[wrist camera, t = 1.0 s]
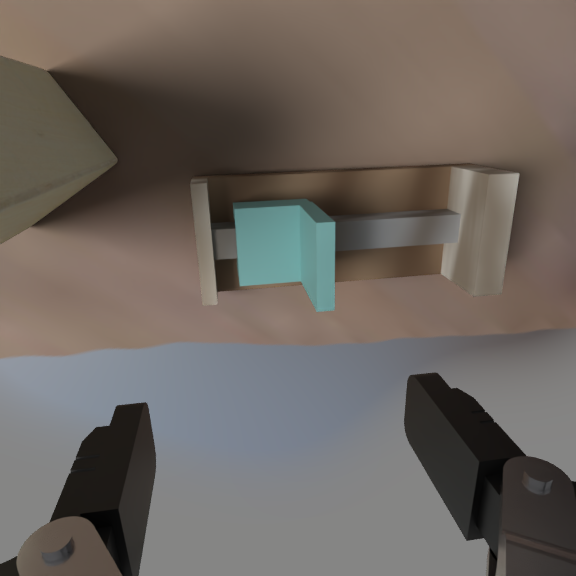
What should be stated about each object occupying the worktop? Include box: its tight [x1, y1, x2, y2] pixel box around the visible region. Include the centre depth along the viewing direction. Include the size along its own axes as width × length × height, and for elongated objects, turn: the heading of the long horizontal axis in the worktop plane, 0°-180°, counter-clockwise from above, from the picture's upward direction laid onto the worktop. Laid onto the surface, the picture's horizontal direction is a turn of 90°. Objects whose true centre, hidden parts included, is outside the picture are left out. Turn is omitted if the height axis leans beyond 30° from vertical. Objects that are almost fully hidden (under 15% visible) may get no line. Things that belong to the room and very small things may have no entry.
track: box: [190, 164, 520, 306], centre depth 31 cm, size 20×8×6 cm, turn 92°
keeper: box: [233, 199, 335, 312], centre depth 28 cm, size 5×5×8 cm
